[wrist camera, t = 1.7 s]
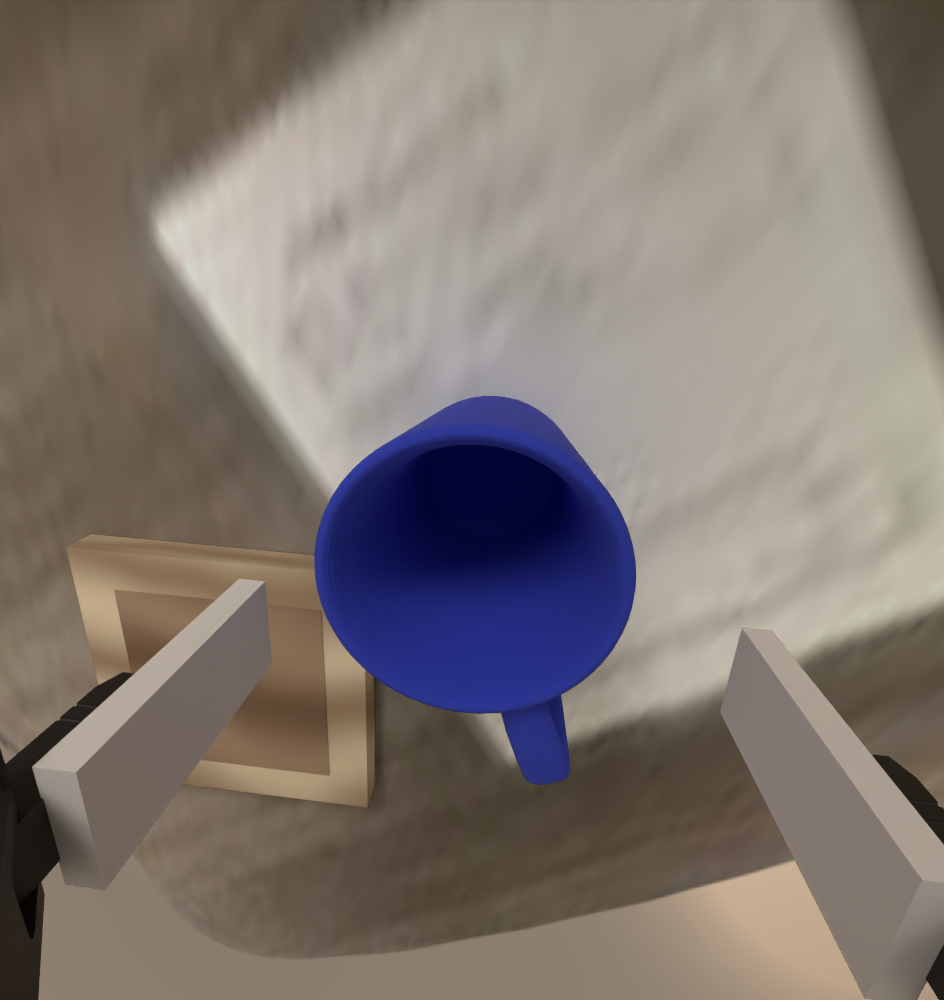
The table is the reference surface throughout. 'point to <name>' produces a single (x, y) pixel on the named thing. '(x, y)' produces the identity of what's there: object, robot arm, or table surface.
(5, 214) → the table surface
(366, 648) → the mug
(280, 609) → the trivet
